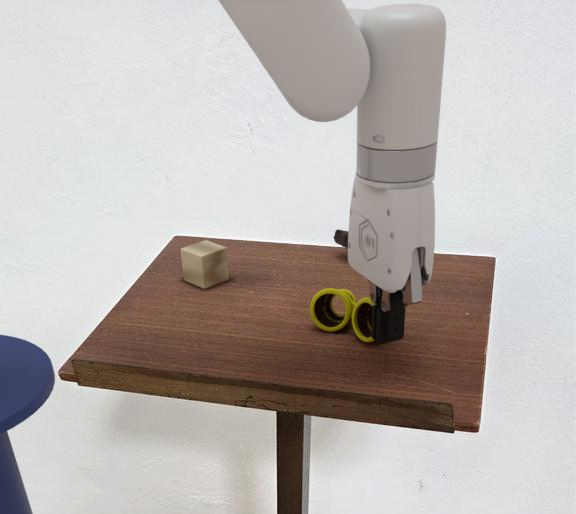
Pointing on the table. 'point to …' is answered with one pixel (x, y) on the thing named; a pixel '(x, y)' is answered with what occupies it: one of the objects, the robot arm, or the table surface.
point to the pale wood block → (205, 264)
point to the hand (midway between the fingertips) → (387, 338)
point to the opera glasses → (333, 321)
